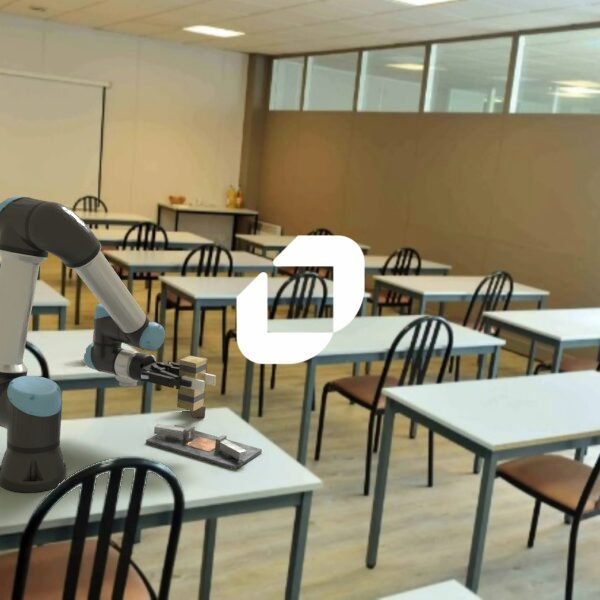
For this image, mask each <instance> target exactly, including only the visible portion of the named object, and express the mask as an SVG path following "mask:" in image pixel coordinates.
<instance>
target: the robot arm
mask: <svg viewBox="0 0 600 600" xmlns="http://www.w3.org/2000/svg"><path fill="white" fill-rule="evenodd" d="M101 250H102V244H101V242H100V241H99V239H98V238H97V236H96V235H95V233H94V232H93V231H92V229H91V228H90V227H89V226H88V224H86V223H85V221H84V220H83V219H82V217H80V216H79V215H78V214H76V213H75V211H73V210H72V209H70V208H69V207H68V206H66V205H64V204H62V203H59V202H55V201H48V200H41V199H38V198H34V197H33V198H32V197H31V196H10V197H8V198H6V199H4V200H2V201H1V202H0V257H1V262H0V427H2V428H4V429H6V450H5V452H4V454H3V457H2V460H1V464H0V486H1V487H2V488H4V489H6V490H9V491H12V492H17V493H38V492H45V491H48V490H51V489H54V487H55V488H56V486H57V485H58V484H59V483H61V482H62V481H63V480H64V479H65V480H66V479H67V471H68V470H67V464H66V463H65V461H64V457H63V453H62V452H63V451H62V450H61V446H60V445H61V427H62V426H61V425H62V408H63V406H62V405H63V399H62V390H61V388H60V385H59V384H57V383H56V382H55V381H54V380H52V379H50V378H46V377H43V376H40V377H39V376H36V375H28V371H29V368H28V367H27V365H25V363H24V361H23V360H24V354H25V349H26V343H27V340H28V339H27V338H28V333H29V327H30V321H31V315H32V309H33V304H34V298H35V294H36V288H37V284H38V283H37V281H38V277H39V269H40V265H42V263H44V262H45V261H47V260H48V258H49V254H50V255H53V256H55V257H56V258H58V259H59V260H60V261H61V262H62V263H63V264H64V266H66V268H68V269H72V270H74V271H75V272H76V274H77V275H78V276H79V278H80V279H81V280H82V282H83V283H84V284H85V286H86V287H87V288H88V289H89V291H90V292H91V293H92V294H93V296H94V297H95V299H97V301H98V302H99V303H98V304H97V305H95V308H94V317H93V332H94V343H93V342H91V343H90V344H88V345H87V347H86V349H85V353H83V360H84V364H85V365H86V367H87V368H89V369H91V370H94V371H97V372H101V373H106V374H111V375H114V376H115V375H118V376H122V377H125V379H128V378H130V379H133V380H137V381H138V382H142V383H151V384H155V385H158V386H164V387H167V388H171V389H174V388H175V389H176V390H178V389H180V385H181V387H186V388H190V389H194V390H198V391H202V392H203V391H204V385H205V384H206V386H213V387H215V386H217V385H216V384H217V383H216V382H217V375H215V374H210V373H208V372H207V373H206V374H205V381H203V380H199V379H194V378H190V377H186V376H182V379H181V377H180V376H179V365H180V363H178V362H174V361H172V360H168V361H167V363H164V362H161V361H156V362H155V360H154V358H153V357H152V356H151V355H152V354H149V353H144V352H141V353H139V352H140V351H136V350H131V349H127V348H122V344H125V345H128V346H132V347H136V348H139V349H140V350H145V351H150V352H154V351H156V350H158V349H160V348H161V346H162V345H163V344H164V341H165V337H166V331H165V328H164V327H163V325H161V324H159V323H157V322H156V321H152V320H150V319H149V317H148V316H147V314H146V313H145V311H144V310H143V309H142V307H141V306H140V305H139V304H138V302H137V300H136V299H135V298H134V296H133V294H132V293H131V292H130V291H129V289H128V288H127V287H126V285H125V284H124V282H123V281H122V279H121V278H120V276H119V275H118V274H117V272H116V271H115V269H114V268H113V266H112V265H111V263H109V261H108V259H107V258H106V256H105V255H104V254H103V252H102V251H101ZM57 487H58V486H57Z"/></svg>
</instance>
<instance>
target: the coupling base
mask: <svg viewBox="0 0 600 600" xmlns="http://www.w3.org/2000/svg"><path fill="white" fill-rule="evenodd" d="M195 427H196V426H193V425H189V426H188V427H185V426H181V425H179V424H178V425H177V424H174V425H169V424H168V425H167V424H161V423H156V425H155V426H154V428H153V429H154V430H153V434H154V435H152V436H151V437H149V438H147V439H145V444H146V445H151V446H154V447H157V448H161V449H164V450H168V451H171V452H174V453H176V454H180V455H185V456H187V457H190V458H194V459H197V460H200V461H203V462H208V463H210V464H214V465H217V466H221V467H223V468H226V469H230V470H233V471H238V469H240V468H241V467H243V466H245V465H246V464H247V463H248V462H251V461H252V460H254V458H257V456H260V454H262V448H259V447H255V446H251V445H248V444H244V443H241V442H237V441H234V440H231V439H227V437H228V435H224V434H221V436H217V435H212V434H209V433H206V432H202V431H198V430H195Z"/></svg>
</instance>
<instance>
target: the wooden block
mask: <svg viewBox="0 0 600 600" xmlns="http://www.w3.org/2000/svg"><path fill="white" fill-rule="evenodd" d="M198 357H199V358H203V359H207V360H206V373H207V374H208V363H209V362H208V360H209V359H208V358H206V357H200V356H198ZM206 387H207V384H205V389H204V404H203V406H202V407H200V408H198V409H197V410H195V411H190V410H189V413H190V414H191V416H192V417H193V418H194V417H201V418H205V417H206V405H205V402H206Z"/></svg>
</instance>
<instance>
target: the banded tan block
mask: <svg viewBox="0 0 600 600" xmlns="http://www.w3.org/2000/svg"><path fill="white" fill-rule="evenodd" d="M199 357H200V356H193V355H188V356H185V357H184V358H180V359H179V364H180V365H179V376H180V377H181V379H182V376H186V377H190V378H194V379H199V380H203V381H205V374H206V360H207V359H208V358H207V359H203V358H199ZM204 389H205V385H204ZM176 402H177V403H176V407H177V408H179V409H183V410H186V411H189V412H190V411H195V410H197V409H198V408H200V407H202V406H203V404H204V391H203V392H202V391H198V390H194V389H190V388H186V387H181V385H180V389H177V401H176ZM204 405H205V404H204Z"/></svg>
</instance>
